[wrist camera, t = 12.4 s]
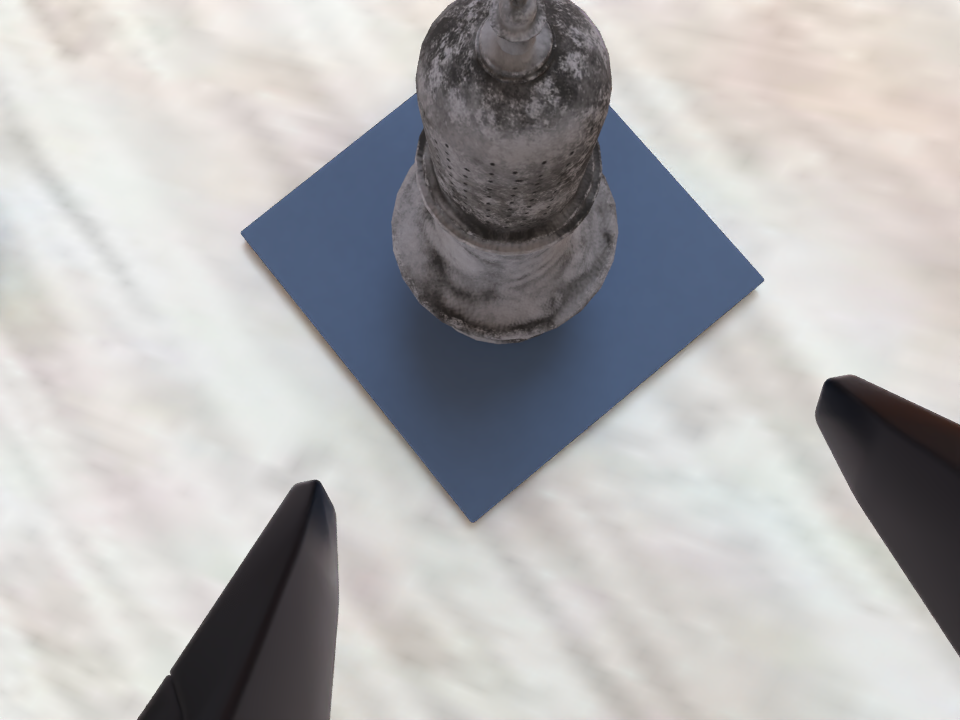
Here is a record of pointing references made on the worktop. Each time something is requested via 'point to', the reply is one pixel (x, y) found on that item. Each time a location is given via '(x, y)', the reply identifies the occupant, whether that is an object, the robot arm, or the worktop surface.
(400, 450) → the worktop surface
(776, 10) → the worktop surface
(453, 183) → the grey chess piece
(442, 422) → the blue mat
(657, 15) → the worktop surface
